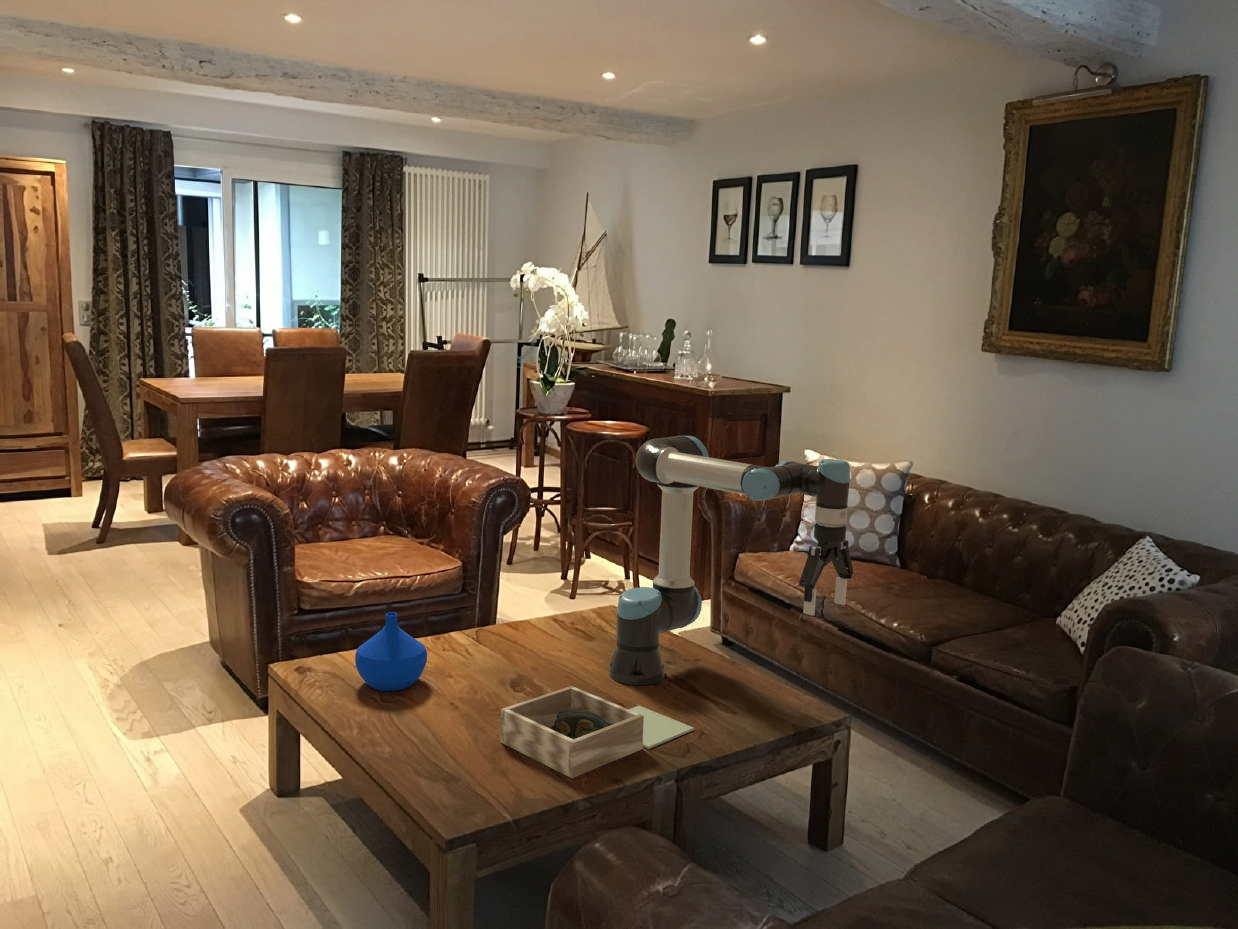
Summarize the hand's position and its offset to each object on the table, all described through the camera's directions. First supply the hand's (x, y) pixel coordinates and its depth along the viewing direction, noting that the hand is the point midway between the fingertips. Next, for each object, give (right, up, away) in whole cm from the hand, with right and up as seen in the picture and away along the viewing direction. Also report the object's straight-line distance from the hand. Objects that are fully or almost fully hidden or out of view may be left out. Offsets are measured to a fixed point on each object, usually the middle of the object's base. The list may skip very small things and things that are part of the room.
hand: (824, 609), depth 249 cm
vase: (-110, -22, +17) cm, 113 cm away
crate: (-61, -29, -16) cm, 69 cm away
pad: (-44, -28, -4) cm, 53 cm away
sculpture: (-61, -30, -16) cm, 70 cm away
